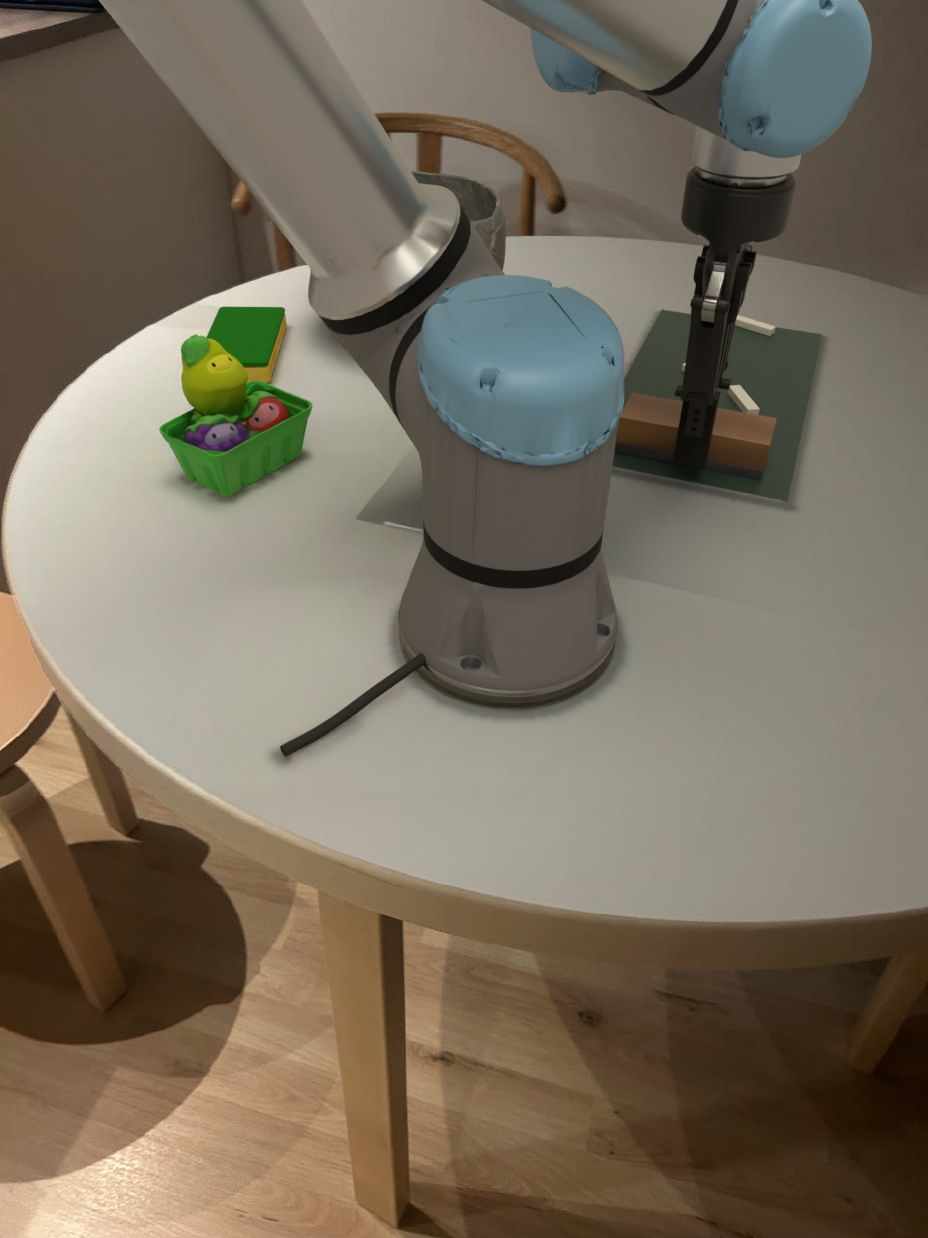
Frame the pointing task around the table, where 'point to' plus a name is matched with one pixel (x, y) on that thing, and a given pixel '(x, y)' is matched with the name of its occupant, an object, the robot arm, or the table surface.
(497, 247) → the bowl
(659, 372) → the chalkboard
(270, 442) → the fruit basket
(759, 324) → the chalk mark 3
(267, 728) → the table surface
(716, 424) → the board eraser
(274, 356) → the dish sponge
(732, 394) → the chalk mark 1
